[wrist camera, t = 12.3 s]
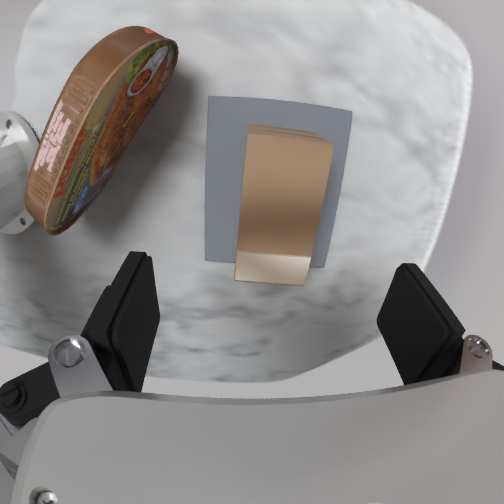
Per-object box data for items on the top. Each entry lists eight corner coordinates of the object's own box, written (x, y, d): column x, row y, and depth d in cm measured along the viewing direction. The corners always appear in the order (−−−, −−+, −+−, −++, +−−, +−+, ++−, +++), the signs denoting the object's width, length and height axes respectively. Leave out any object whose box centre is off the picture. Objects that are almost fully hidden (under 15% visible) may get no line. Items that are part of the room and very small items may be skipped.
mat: (206, 256, 25) (205, 260, 24) (209, 96, 18) (208, 96, 18) (322, 263, 25) (323, 267, 25) (349, 110, 18) (352, 111, 18)
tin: (93, 209, 22) (40, 261, 15) (67, 190, 21) (8, 235, 14) (193, 53, 16) (157, 29, 9) (159, 33, 15) (109, 5, 8)
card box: (248, 123, 19) (247, 133, 14) (313, 132, 19) (335, 145, 14) (237, 239, 23) (233, 282, 18) (293, 244, 23) (304, 287, 18)
